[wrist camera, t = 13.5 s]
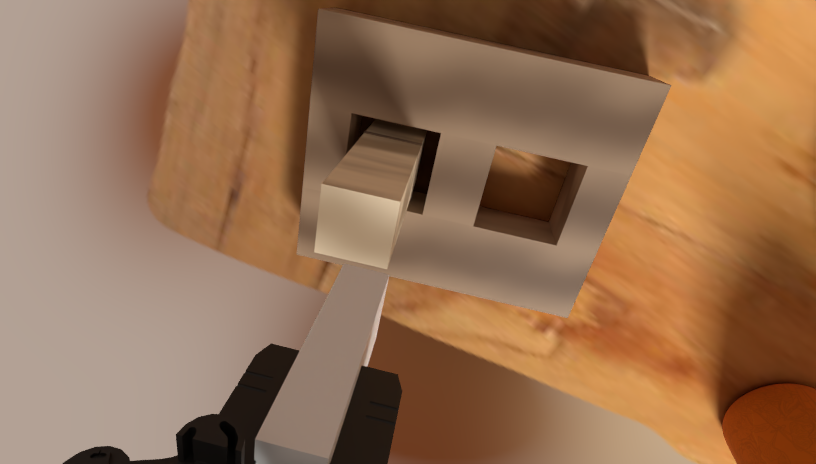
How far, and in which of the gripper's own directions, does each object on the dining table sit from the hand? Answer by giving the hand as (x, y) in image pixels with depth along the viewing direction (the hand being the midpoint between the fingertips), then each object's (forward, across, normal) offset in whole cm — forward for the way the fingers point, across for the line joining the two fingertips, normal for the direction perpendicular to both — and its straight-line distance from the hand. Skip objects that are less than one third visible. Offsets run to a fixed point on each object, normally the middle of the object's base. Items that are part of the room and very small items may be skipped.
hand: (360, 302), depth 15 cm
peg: (+22, -2, -2) cm, 23 cm away
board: (+22, +3, -2) cm, 23 cm away
